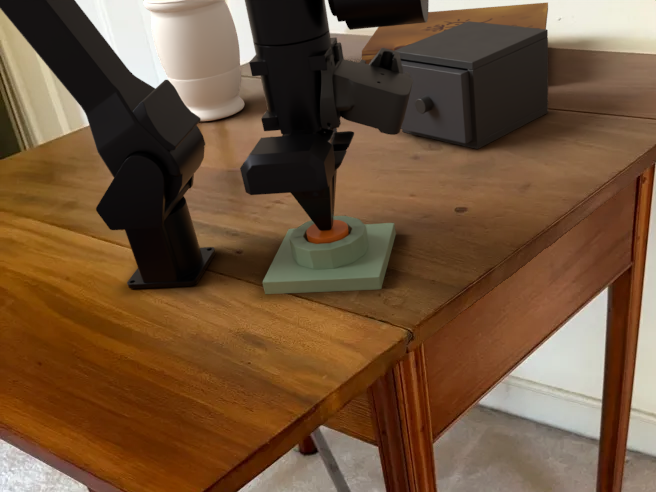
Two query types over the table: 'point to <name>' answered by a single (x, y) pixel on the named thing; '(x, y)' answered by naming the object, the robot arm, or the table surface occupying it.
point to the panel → (332, 260)
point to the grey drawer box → (492, 74)
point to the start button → (327, 233)
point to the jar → (199, 54)
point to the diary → (445, 20)
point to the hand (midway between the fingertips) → (326, 228)
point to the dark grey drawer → (438, 101)
